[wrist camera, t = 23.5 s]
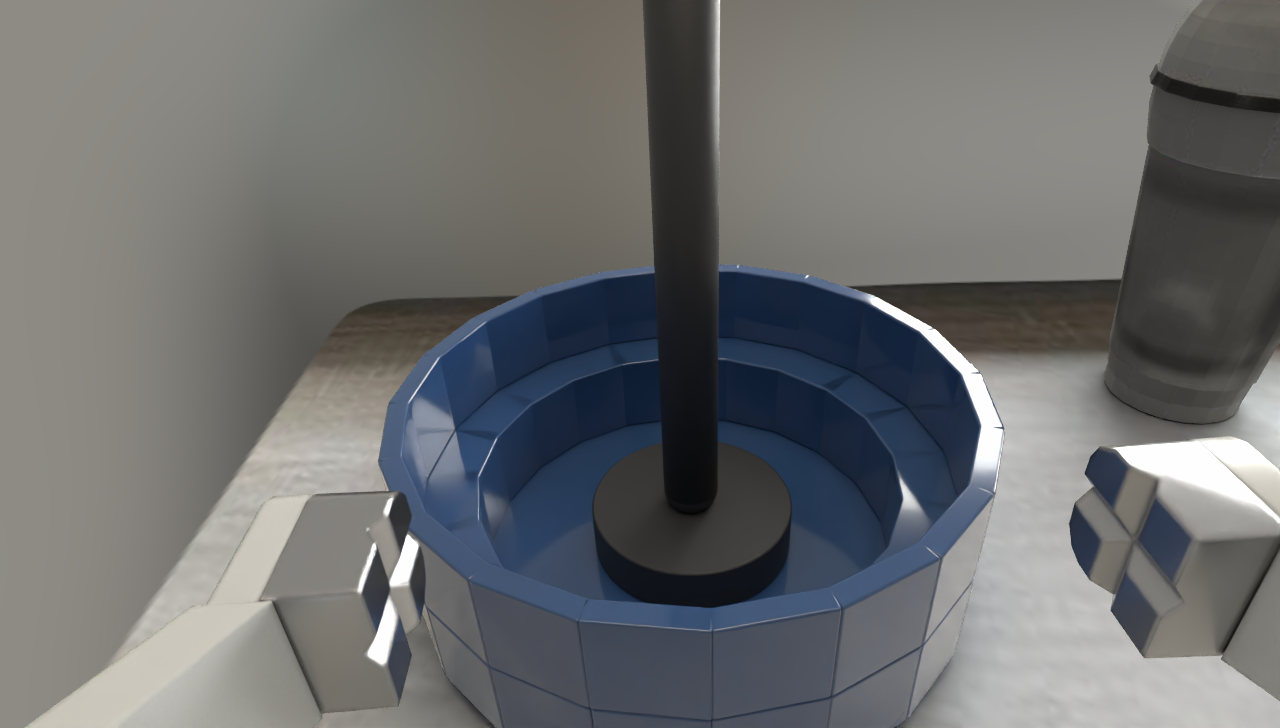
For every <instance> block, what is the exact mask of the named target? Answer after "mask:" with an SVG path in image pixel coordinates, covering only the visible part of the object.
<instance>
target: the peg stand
mask: <svg viewBox="0 0 1280 728" xmlns="http://www.w3.org/2000/svg"><path fill="white" fill-rule="evenodd" d="M643 15H644V38H645V61H646V84H647V107H648V130H649V151H650V176H651V197H652V222H653V244H654V268H655V291H656V314H657V337H658V360H659V383H660V406H661V429H662V443H658V444H654V445H651V446H648V447H645V448H642V449H640V450H638V451H635V452H633V453H631V454H630V455H628V456H626V457H624V458H623V459H621V460H620V461H619V462H617V463H616V464H615V465H614V466H613V467H612V468H610V469H609V470H608V471H607V473H606V474H605V475H604V476H603V478H602V479H601V481H600V483H599V484H598V486H597V489H596V491H595V494H594V497H593V503H592V515H593V524H594V533H595V542H596V549H597V554H598V557H599V560H600V562H601V564H602V566H603V568H604V569H605V571H606V573H607V574H608V575H609V576H610V577H611V579H612V580H613V581H614V582H615V583H616V584H617V585H618V586H619V587H621V588H622V589H623V590H624V591H626V592H627V593H629V594H630V595H632V596H634V597H636V598H638V599H640V600H642V601H644V602H646V603H652V604H665V605H678V606H691V607H704V608H713V607H719V606H725V605H730V604H736V603H740V602H742V601H745V600H747V599H749V598H751V597H752V596H754V595H756V594H758V593H759V592H760V591H762V590H763V589H764V588H766V587H767V586H768V585H769V584H770V583H771V582H772V581H773V580H774V579H775V578H776V577H777V575H778V574H779V572H780V571H781V569H782V568H783V566H784V563H785V561H786V559H787V555H788V551H789V543H790V529H791V515H792V503H791V497H790V494H789V491H788V488H787V487H786V485H785V483H784V481H783V479H782V478H781V477H780V475H779V474H778V473H777V472H776V471H775V470H774V469H773V468H772V467H771V466H770V465H769V464H768V463H766V462H765V461H764V460H763V459H761V458H759V457H758V456H756V455H754V454H753V453H750V452H748V451H746V450H744V449H742V448H739V447H736V446H733V445H729V444H726V443H722V442H718V313H719V89H720V86H719V85H720V83H719V82H720V0H643Z"/></svg>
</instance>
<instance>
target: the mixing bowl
mask: <svg viewBox="0 0 1280 728" xmlns="http://www.w3.org/2000/svg"><path fill="white" fill-rule="evenodd" d="M1004 435H1005V431H1004V427H1003V424H1002V422H1001V420H1000V417H999V415H998V413H997V410H996V408H995V405H994V403H993V401H992V398H991V396H990V394H989V391H988V389H987V387H986V384H985V382H984V379H983V377H982V375H981V374H980V372H979V371H978V370H977V369H976V368H975V367H974V366H973V365H972V364H971V363H970V362H969V361H968V360H967V359H966V358H965V357H964V356H963V355H962V354H960V353H959V352H958V351H957V350H956V349H955V348H954V347H953V346H952V345H951V344H950V343H949V342H948V341H947V340H946V339H945V338H944V337H943V336H942V335H941V334H940V333H939V332H938V331H937V330H935V329H934V328H932V327H931V326H929V325H927V324H925V323H923V322H921V321H920V320H918V319H916V318H914V317H912V316H910V315H909V314H907V313H905V312H903V311H901V310H900V309H898V308H896V307H894V306H892V305H890V304H889V303H887V302H885V301H883V300H881V299H879V298H878V297H875V296H873V295H870V294H867V293H864V292H860V291H857V290H854V289H851V288H848V287H845V286H841V285H838V284H835V283H832V282H828V281H826V280H822V279H819V278H816V277H813V276H808V275H802V274H796V273H789V272H783V271H775V270H769V269H763V268H755V267H750V266H743V265H740V266H739V265H719V313H718V442H722V443H726V444H729V445H733V446H736V447H739V448H742V449H744V450H746V451H748V452H750V453H753V454H754V455H756V456H758V457H759V458H761V459H763V460H764V461H765V462H766V463H768V464H769V465H770V466H771V467H772V468H773V469H774V470H775V471H776V472H777V473H778V474H779V475H780V477H781V478H782V479H783V481H784V483H785V485H786V487H787V488H788V491H789V494H790V497H791V503H792V515H791V529H790V543H789V551H788V555H787V559H786V561H785V563H784V566H783V568H782V569H781V571H780V572H779V574H778V575H777V577H776V578H775V579H774V580H773V581H772V582H771V583H770V584H769V585H768V586H767V587H766V588H764V589H763V590H762V591H760V592H759V593H758V594H756V595H754V596H752V597H751V598H749V599H747V600H745V601H742V602H740V603H736V604H730V605H725V606H719V607H713V608H704V607H691V606H678V605H665V604H652V603H646V602H644V601H642V600H640V599H638V598H636V597H634V596H632V595H630V594H629V593H627V592H626V591H624V590H623V589H622V588H621V587H619V586H618V585H617V584H616V583H615V582H614V581H613V580H612V579H611V577H610V576H609V575H608V574H607V573H606V571H605V569H604V568H603V566H602V564H601V562H600V560H599V557H598V554H597V549H596V542H595V533H594V524H593V515H592V503H593V497H594V494H595V491H596V489H597V486H598V484H599V483H600V481H601V479H602V478H603V476H604V475H605V474H606V473H607V471H608V470H609V469H610V468H612V467H613V466H614V465H615V464H616V463H617V462H619V461H620V460H621V459H623V458H624V457H626V456H628V455H630V454H631V453H633V452H635V451H638V450H640V449H642V448H645V447H648V446H651V445H654V444H658V443H662V429H661V406H660V383H659V360H658V337H657V314H656V291H655V268H654V266H647V267H639V268H632V269H624V270H615V271H606V272H600V273H595V274H591V275H588V276H584V277H580V278H576V279H573V280H569V281H565V282H562V283H558V284H554V285H550V286H546V287H543V288H539V289H535V290H534V291H530V292H528V293H526V294H523V295H521V296H519V297H517V298H515V299H513V300H510V301H508V302H506V303H504V304H502V305H499V306H497V307H495V308H493V309H491V310H488V311H486V312H484V313H482V314H480V315H478V316H475V317H474V318H472V319H470V320H469V321H468V322H466V323H465V324H464V325H462V326H461V327H460V328H458V329H457V330H456V331H454V332H453V333H452V334H450V335H449V336H448V337H446V338H445V339H444V340H443V341H441V342H440V343H439V344H437V345H436V346H435V347H433V348H432V349H431V350H429V351H428V352H427V353H425V354H424V355H423V356H422V357H421V358H420V360H419V361H418V362H417V364H416V365H415V367H414V368H413V369H412V371H411V372H410V374H409V375H408V376H407V378H406V379H405V381H404V382H403V383H402V385H401V386H400V388H399V389H398V390H397V392H396V393H395V395H394V396H393V397H392V399H391V400H390V402H389V405H388V407H387V413H386V418H385V424H384V430H383V436H382V441H381V447H380V453H379V459H378V463H379V464H378V465H379V468H380V472H381V475H382V479H383V482H384V486H385V489H386V491H400V492H402V493H403V494H405V495H406V498H407V501H408V504H409V507H410V510H411V513H412V519H411V523H410V526H409V529H408V533H407V534H408V535H409V536H411V537H412V538H413V539H415V540H416V541H417V542H418V543H420V546H421V549H422V553H423V557H424V563H425V572H426V587H425V603H424V607H423V611H422V614H423V617H424V620H425V623H426V625H427V628H428V631H429V633H430V636H431V639H432V641H433V644H434V647H435V650H436V652H437V655H438V658H439V660H440V663H441V666H442V668H443V671H444V674H445V675H446V676H447V678H448V679H449V680H450V681H451V682H452V683H453V684H454V685H455V686H456V687H457V688H458V689H459V690H460V691H461V693H462V694H463V695H464V696H465V697H466V698H467V699H468V700H469V701H470V702H471V703H472V704H473V705H474V706H475V707H476V708H477V709H478V710H479V711H480V712H481V713H482V714H483V715H484V716H485V717H486V718H487V719H488V720H489V721H490V722H491V723H492V724H493V725H494V726H495V727H496V728H894V727H896V726H897V725H899V724H901V723H902V722H904V721H905V720H906V719H908V718H909V716H910V715H911V714H912V712H913V711H914V709H915V708H916V707H917V705H918V704H919V702H920V701H921V700H922V698H923V697H924V696H925V694H926V693H927V691H928V690H929V689H930V687H931V686H932V684H933V683H934V682H935V680H936V679H937V677H938V676H939V675H940V673H941V672H942V670H943V669H944V668H945V666H946V665H947V663H948V662H949V661H950V659H951V658H952V657H953V655H954V654H955V650H956V648H957V644H958V640H959V636H960V632H961V628H962V624H963V620H964V616H965V612H966V608H967V604H968V600H969V597H970V593H971V589H972V585H973V581H974V576H975V573H976V569H977V565H978V561H979V557H980V553H981V549H982V545H983V541H984V537H985V533H986V530H987V526H988V522H989V518H990V514H991V510H992V506H993V502H994V498H995V494H996V488H997V481H998V475H999V468H1000V461H1001V455H1002V448H1003V441H1004Z"/></svg>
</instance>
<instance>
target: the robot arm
mask: <svg viewBox="0 0 1280 728" xmlns="http://www.w3.org/2000/svg"><path fill="white" fill-rule="evenodd" d="M1085 475H1086V477H1087V478H1088V480H1089V482H1090V483H1091V485H1092V488H1091V489H1090V490H1089V491H1087V492H1086V493H1085V494H1084V495H1083V496H1082V497H1081V498H1079V499H1078V500H1077V501H1076V502H1075V504H1074V508H1073V512H1072V516H1071V519H1070V523H1069V526H1070V535H1071V545H1072V548H1073V551H1074V553H1075V556H1076V558H1077V561H1078V563H1079V565H1080V566H1081V568H1082V569H1083V571H1084V572H1085V574H1086V575H1087V577H1088V578H1089V580H1090V581H1092V582H1094V583H1095V584H1097V585H1099V586H1100V587H1102V588H1104V589H1105V590H1107V591H1109V592H1110V593H1112V594H1113V599H1112V605H1111V612H1112V613H1113V615H1114V616H1115V617H1116V619H1117V620H1118V622H1119V623H1120V625H1121V626H1122V627H1123V629H1124V630H1125V632H1126V633H1127V635H1128V636H1129V637H1130V639H1131V640H1132V642H1133V643H1134V645H1135V646H1136V647H1137V649H1138V650H1139V652H1140V653H1141V655H1142V656H1143V657H1144V658H1167V657H1194V656H1221V655H1223V656H1222V658H1221V660H1223V661H1224V662H1226V663H1227V664H1228V665H1230V666H1231V667H1233V668H1234V669H1235V670H1237V671H1238V672H1240V673H1241V674H1242V675H1244V676H1245V677H1247V678H1248V679H1249V680H1251V681H1252V682H1254V683H1255V684H1257V685H1258V686H1259V687H1261V688H1262V689H1264V690H1265V691H1266V692H1268V693H1269V694H1271V695H1272V696H1273V697H1275V698H1276V699H1278V700H1279V701H1280V470H1279V469H1277V468H1276V467H1275V466H1274V465H1273V464H1272V463H1271V462H1269V461H1268V460H1267V459H1266V458H1265V457H1264V456H1263V455H1261V454H1260V453H1259V452H1258V451H1257V450H1256V449H1254V448H1253V447H1252V446H1251V445H1250V444H1249V443H1248V442H1245V441H1243V440H1241V439H1238V438H1235V437H1233V436H1224V437H1212V438H1200V439H1188V440H1186V441H1173V442H1159V443H1144V444H1130V445H1116V446H1101V447H1099V448H1098V449H1097V450H1096V451H1095V452H1094V453H1093V454H1092V455H1091V457H1090V459H1089V462H1088V465H1087V468H1086V471H1085ZM411 519H412V513H411V510H410V507H409V504H408V501H407V498H406V495H405V494H403V493H402V492H400V491H378V492H353V493H329V494H315V495H297V496H274V497H272V498H270V499H269V500H267V501H266V502H264V503H263V504H262V505H261V507H260V509H259V511H258V512H257V514H256V516H255V518H254V520H253V521H252V523H251V525H250V527H249V529H248V530H247V532H246V534H245V536H244V538H243V539H242V541H241V543H240V545H239V546H238V548H237V550H236V552H235V554H234V555H233V557H232V559H231V561H230V563H229V564H228V566H227V568H226V570H225V572H224V573H223V575H222V577H221V579H220V581H219V582H218V584H217V586H216V588H215V590H214V591H213V593H212V595H211V597H210V599H209V600H208V602H207V604H206V605H201V606H192V607H190V608H189V609H187V610H186V611H185V612H183V613H182V614H181V615H179V616H178V617H176V618H175V619H174V620H172V621H171V622H170V623H168V624H167V625H165V626H164V627H163V628H161V629H160V630H158V631H157V632H156V633H154V634H153V635H152V636H150V637H149V638H147V639H146V640H145V641H143V642H142V643H141V644H139V645H138V646H136V647H135V648H134V649H132V650H131V651H129V652H128V653H127V654H125V655H124V656H123V657H121V658H120V659H118V660H117V661H116V662H114V663H113V664H112V665H110V666H109V667H107V668H106V669H105V670H103V671H102V672H100V673H99V674H98V675H96V676H95V677H94V678H92V679H91V680H90V681H88V682H87V683H85V684H84V685H83V686H81V687H80V688H78V689H77V690H76V691H75V692H73V693H71V694H70V695H69V696H68V697H66V698H65V699H63V700H62V701H60V702H59V703H58V704H56V705H55V706H54V707H52V708H51V709H49V710H48V711H47V712H45V713H44V714H42V715H41V716H40V717H38V718H37V719H36V720H34V721H33V722H31V723H30V724H29V725H27V726H26V727H25V728H314V727H315V726H316V725H317V724H318V723H319V721H320V720H321V719H322V715H321V714H324V713H334V712H345V711H356V710H367V709H377V708H388V707H399V703H400V699H401V695H402V692H403V688H404V684H405V680H406V676H407V672H408V668H409V664H410V660H411V656H412V654H411V651H410V648H409V644H408V641H407V638H406V636H407V635H408V634H409V633H410V632H411V631H412V630H413V629H414V628H415V627H416V626H417V625H418V624H419V623H420V620H421V616H422V611H423V607H424V603H425V587H426V572H425V563H424V557H423V553H422V549H421V546H420V543H418V542H417V541H416V540H415V539H413V538H412V537H411V536H409V535H408V534H407V533H408V529H409V526H410V523H411Z"/></svg>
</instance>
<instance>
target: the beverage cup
mask: <svg viewBox="0 0 1280 728" xmlns="http://www.w3.org/2000/svg"><path fill="white" fill-rule="evenodd" d="M1150 81H1151V84H1153V85H1154V86H1153V90H1152V94H1151V98H1150V102H1149V115H1148V116H1149V117H1148V127H1147V140H1148V144H1149V146H1148V151H1147V156H1146V161H1145V166H1144V171H1143V176H1142V181H1141V186H1140V191H1139V196H1138V201H1137V206H1136V211H1135V216H1134V221H1133V226H1132V231H1131V235H1130V240H1129V245H1128V251H1127V255H1126V261H1125V265H1124V270H1123V276H1122V280H1121V285H1120V290H1119V295H1118V300H1117V305H1116V310H1115V315H1114V320H1113V325H1112V330H1111V335H1110V350H1109V356H1108V365H1107V368H1106V371H1105V383H1106V385H1107V386H1108V388H1109V390H1110V391H1111V392H1112V393H1113V394H1114V395H1115V396H1117V397H1118V398H1119V399H1120V400H1122V401H1123V402H1125V403H1126V404H1128V405H1130V406H1132V407H1134V408H1136V409H1138V410H1140V411H1142V412H1145V413H1148V414H1151V415H1154V416H1157V417H1159V418H1163V419H1168V420H1173V421H1178V422H1183V423H1200V424H1206V423H1213V422H1220V421H1224V420H1226V419H1228V418H1230V417H1232V416H1234V415H1235V413H1236V411H1237V410H1238V408H1239V406H1240V404H1241V402H1242V400H1243V399H1244V397H1245V396H1246V394H1247V392H1248V391H1249V389H1250V388H1251V386H1252V385H1253V384H1254V383H1256V382H1257V380H1258V378H1259V377H1260V375H1261V373H1262V371H1263V370H1264V368H1265V366H1266V365H1267V363H1268V361H1269V359H1270V358H1271V356H1272V354H1273V353H1274V351H1275V349H1276V347H1277V346H1278V344H1279V342H1280V0H1196V1H1195V2H1194V3H1193V4H1192V5H1191V6H1190V8H1189V9H1188V10H1187V12H1186V13H1185V14H1184V16H1183V17H1182V18H1181V20H1180V21H1179V23H1178V24H1177V26H1176V27H1175V29H1174V31H1173V33H1172V35H1171V36H1170V38H1169V40H1168V42H1167V44H1166V46H1165V48H1164V51H1163V54H1162V56H1161V59H1160V62H1159V63H1158V64H1156V65H1155V67H1154V69H1153V71H1152V73H1151V74H1150Z"/></svg>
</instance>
